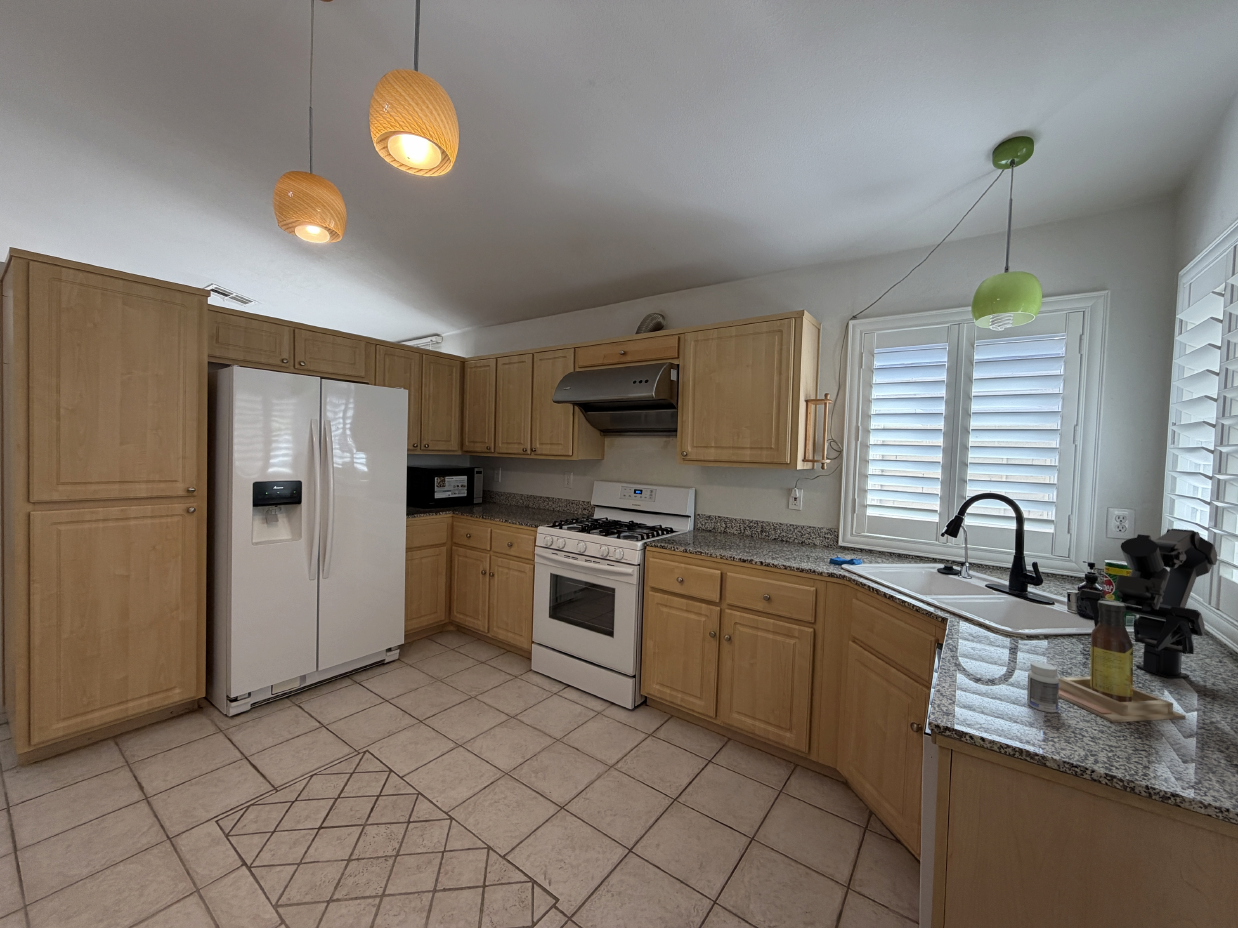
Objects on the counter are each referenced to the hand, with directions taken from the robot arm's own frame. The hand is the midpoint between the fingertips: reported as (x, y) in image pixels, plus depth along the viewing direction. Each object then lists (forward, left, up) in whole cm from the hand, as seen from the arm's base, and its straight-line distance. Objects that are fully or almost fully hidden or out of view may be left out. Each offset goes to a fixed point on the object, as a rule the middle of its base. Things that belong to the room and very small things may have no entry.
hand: (1126, 641), depth 104 cm
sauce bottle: (+7, +3, -11) cm, 13 cm away
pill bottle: (+25, +4, -11) cm, 28 cm away
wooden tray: (+8, +3, -11) cm, 14 cm away
